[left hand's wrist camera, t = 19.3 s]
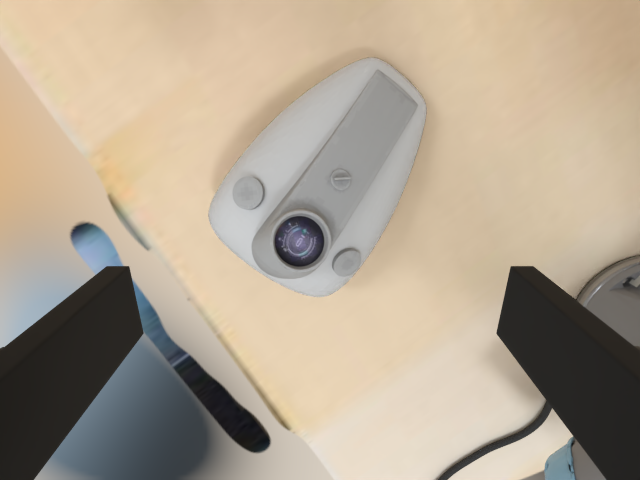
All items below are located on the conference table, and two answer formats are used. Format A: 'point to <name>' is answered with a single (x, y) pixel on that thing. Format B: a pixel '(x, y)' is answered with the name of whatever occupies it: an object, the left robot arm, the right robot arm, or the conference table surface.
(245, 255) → the projector
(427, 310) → the conference table surface
